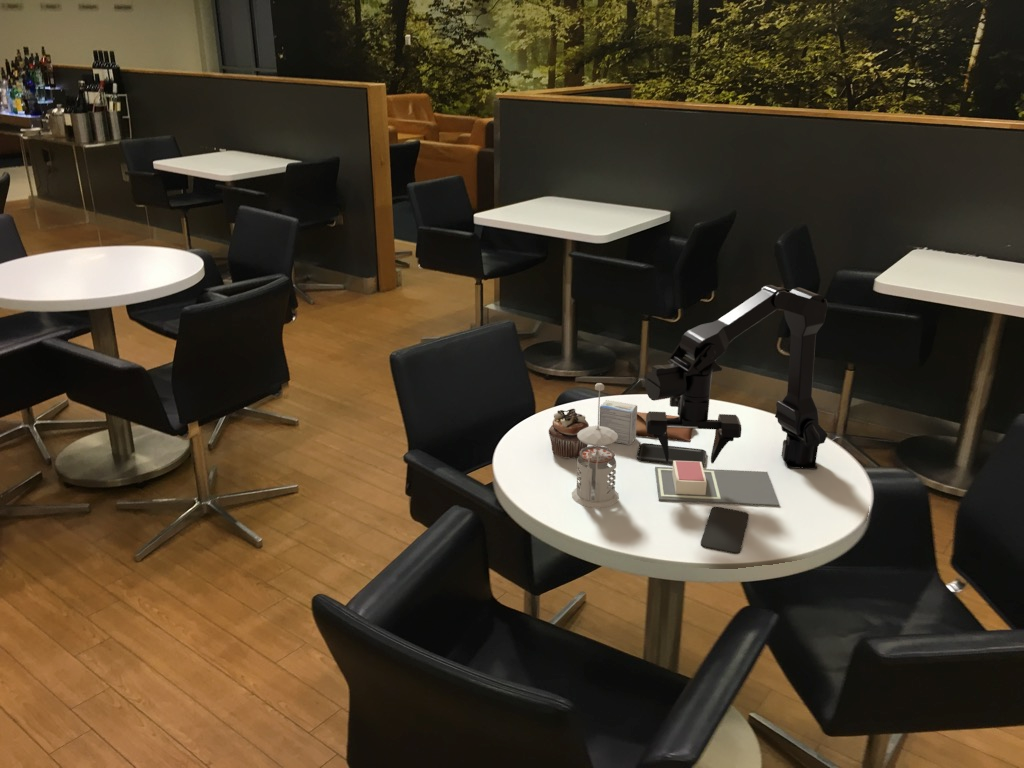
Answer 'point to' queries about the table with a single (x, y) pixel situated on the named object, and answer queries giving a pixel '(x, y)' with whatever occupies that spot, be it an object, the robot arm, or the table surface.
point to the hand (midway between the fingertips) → (689, 461)
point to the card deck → (689, 477)
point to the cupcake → (567, 433)
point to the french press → (596, 466)
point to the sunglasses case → (672, 433)
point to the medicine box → (619, 420)
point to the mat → (722, 488)
